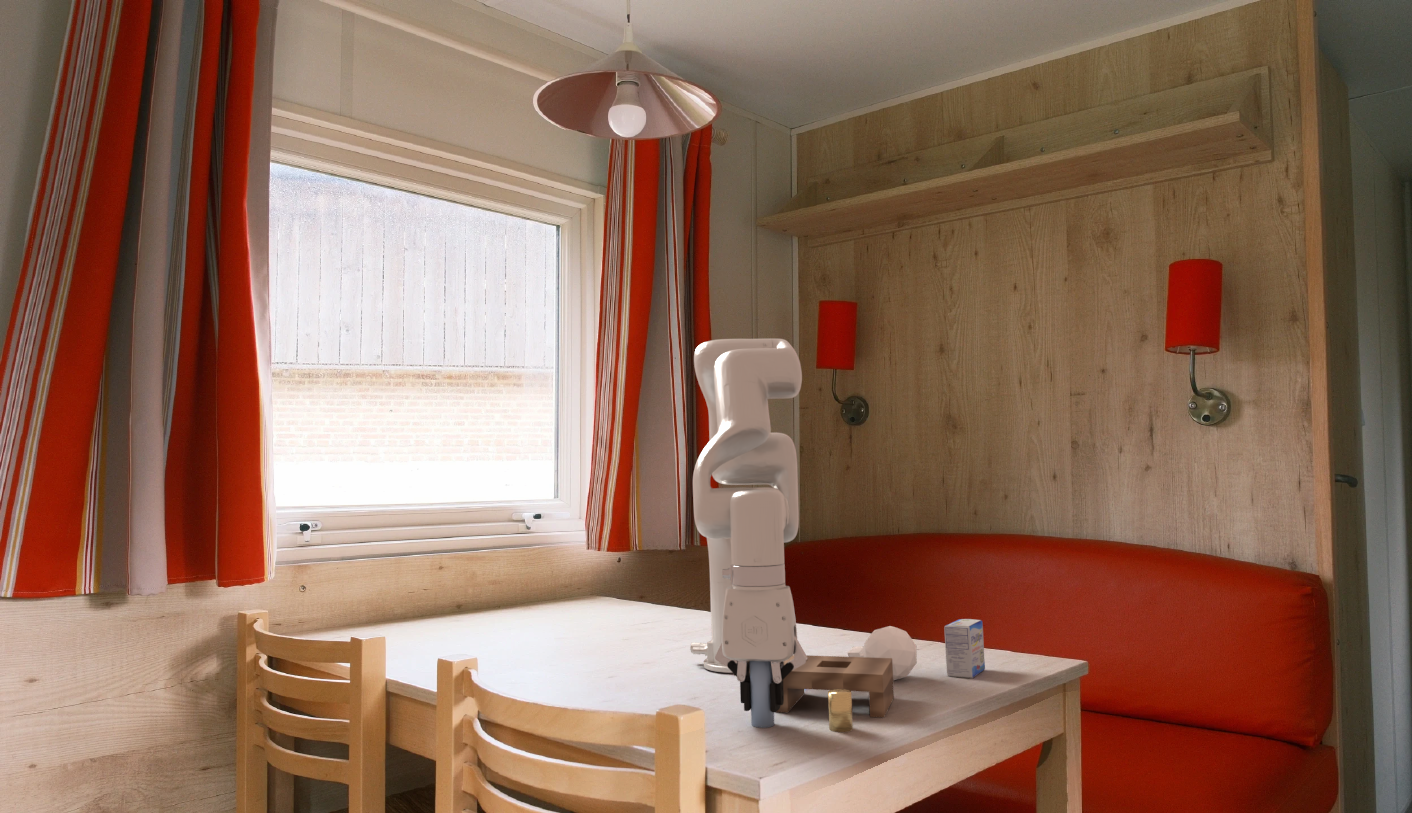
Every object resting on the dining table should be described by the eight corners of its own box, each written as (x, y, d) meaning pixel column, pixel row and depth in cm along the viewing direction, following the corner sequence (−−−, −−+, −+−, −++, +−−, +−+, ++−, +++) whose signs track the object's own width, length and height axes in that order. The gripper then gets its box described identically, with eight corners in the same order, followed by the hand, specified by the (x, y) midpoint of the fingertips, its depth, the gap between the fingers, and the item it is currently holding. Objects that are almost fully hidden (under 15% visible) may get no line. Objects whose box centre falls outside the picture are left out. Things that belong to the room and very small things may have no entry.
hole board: (774, 711, 138) (773, 670, 139) (792, 692, 150) (790, 654, 150) (884, 717, 133) (882, 674, 134) (893, 697, 145) (892, 658, 145)
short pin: (827, 731, 127) (825, 693, 128) (831, 725, 130) (830, 688, 131) (850, 732, 126) (849, 694, 127) (854, 726, 129) (853, 689, 130)
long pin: (748, 726, 130) (746, 660, 131) (754, 720, 134) (752, 656, 134) (771, 727, 130) (769, 661, 130) (776, 721, 133) (774, 657, 133)
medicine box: (972, 679, 156) (969, 626, 157) (946, 676, 159) (943, 624, 159) (985, 670, 163) (983, 619, 164) (960, 667, 165) (957, 618, 166)
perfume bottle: (932, 664, 159) (869, 666, 166) (916, 615, 158) (854, 618, 165) (913, 690, 152) (848, 691, 159) (896, 638, 151) (832, 641, 159)
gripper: (695, 579, 132) (698, 713, 131) (810, 580, 127) (814, 719, 126) (711, 573, 139) (714, 700, 138) (820, 574, 134) (825, 705, 133)
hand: (762, 707), depth 132 cm, fingers closed on long pin, 3 cm apart
